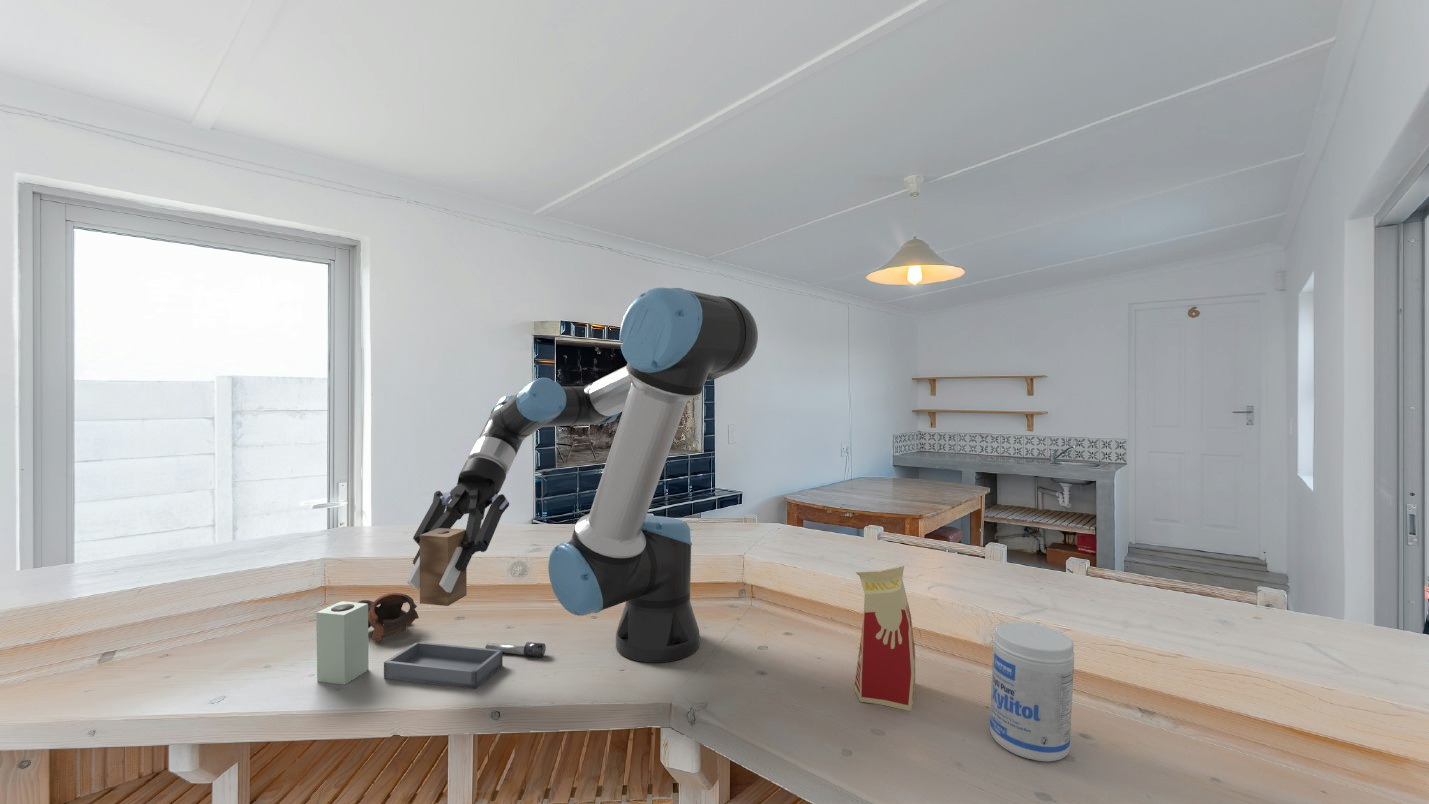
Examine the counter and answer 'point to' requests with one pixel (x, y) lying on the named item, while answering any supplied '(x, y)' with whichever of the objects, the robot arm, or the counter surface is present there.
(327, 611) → the sage block
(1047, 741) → the supplement tub
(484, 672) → the slate tray
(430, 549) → the walnut block
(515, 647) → the rod
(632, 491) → the robot arm
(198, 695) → the counter surface
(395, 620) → the pottery mug
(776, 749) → the counter surface
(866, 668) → the milk carton
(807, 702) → the counter surface
